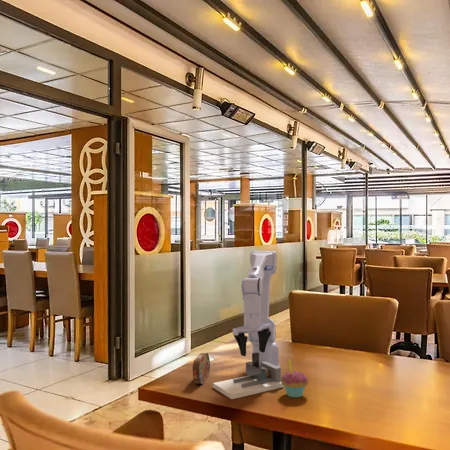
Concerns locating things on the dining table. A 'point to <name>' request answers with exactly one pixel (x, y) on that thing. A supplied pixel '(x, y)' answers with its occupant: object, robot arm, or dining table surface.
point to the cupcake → (294, 382)
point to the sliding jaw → (256, 368)
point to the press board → (250, 383)
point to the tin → (201, 368)
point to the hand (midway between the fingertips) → (252, 353)
